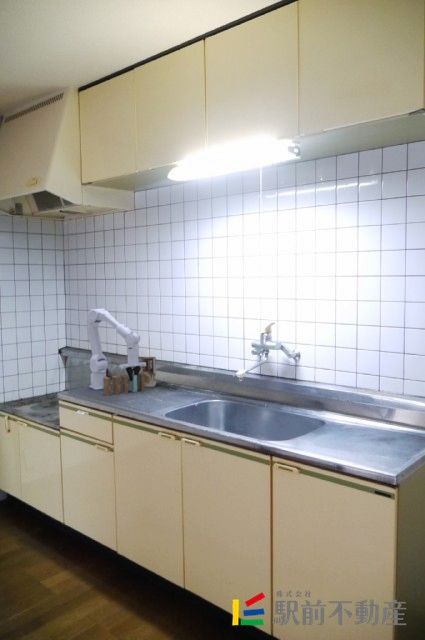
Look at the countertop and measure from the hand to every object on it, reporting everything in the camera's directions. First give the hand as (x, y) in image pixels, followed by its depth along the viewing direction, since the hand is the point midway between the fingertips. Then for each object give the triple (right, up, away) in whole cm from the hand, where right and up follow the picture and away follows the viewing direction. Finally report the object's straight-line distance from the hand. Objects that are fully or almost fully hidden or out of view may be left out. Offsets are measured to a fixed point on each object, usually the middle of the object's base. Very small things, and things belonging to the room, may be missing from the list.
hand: (133, 380), depth 275 cm
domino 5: (+4, -6, +3) cm, 8 cm away
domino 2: (-8, -6, -5) cm, 12 cm away
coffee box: (+6, -5, +15) cm, 17 cm away
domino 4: (0, -6, 0) cm, 6 cm away
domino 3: (-4, -6, -2) cm, 8 cm away
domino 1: (-13, -6, -8) cm, 16 cm away
